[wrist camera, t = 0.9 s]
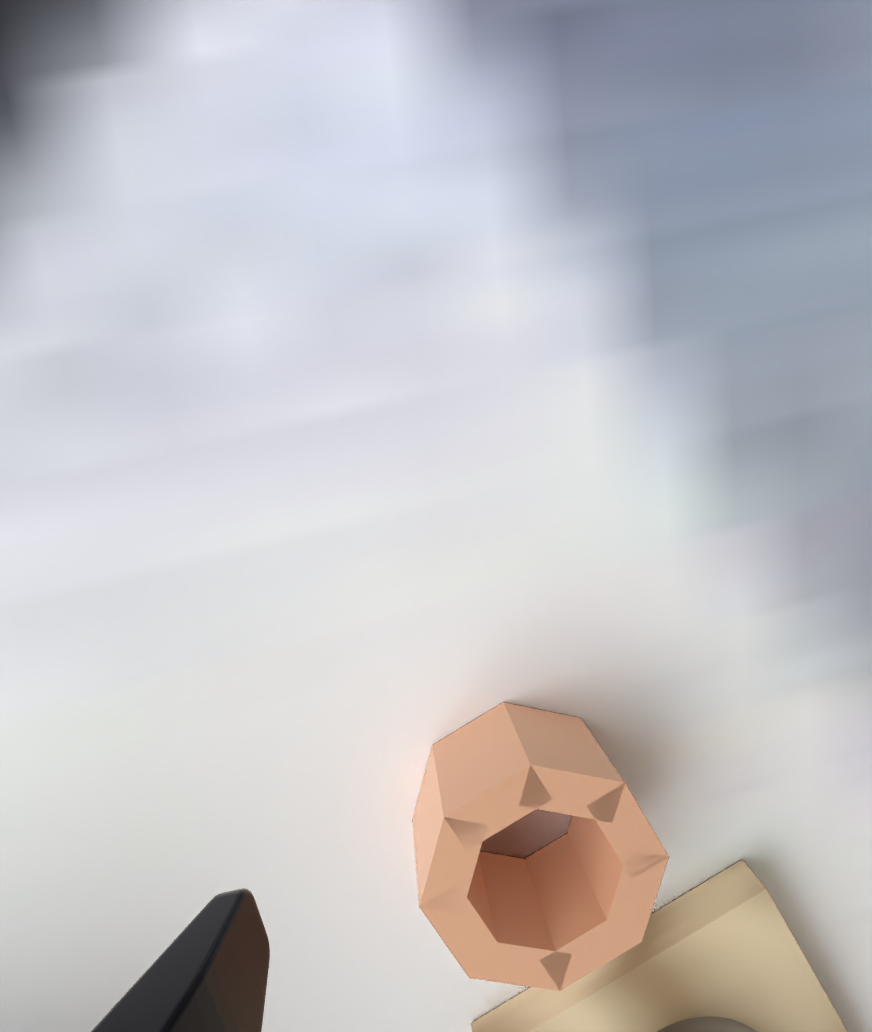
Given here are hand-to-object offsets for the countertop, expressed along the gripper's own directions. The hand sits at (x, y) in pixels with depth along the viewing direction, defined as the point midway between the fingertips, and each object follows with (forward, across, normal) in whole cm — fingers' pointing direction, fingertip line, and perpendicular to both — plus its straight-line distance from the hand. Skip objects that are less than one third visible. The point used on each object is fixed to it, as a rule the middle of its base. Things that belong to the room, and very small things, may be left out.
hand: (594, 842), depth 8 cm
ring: (+13, +1, +9) cm, 16 cm away
